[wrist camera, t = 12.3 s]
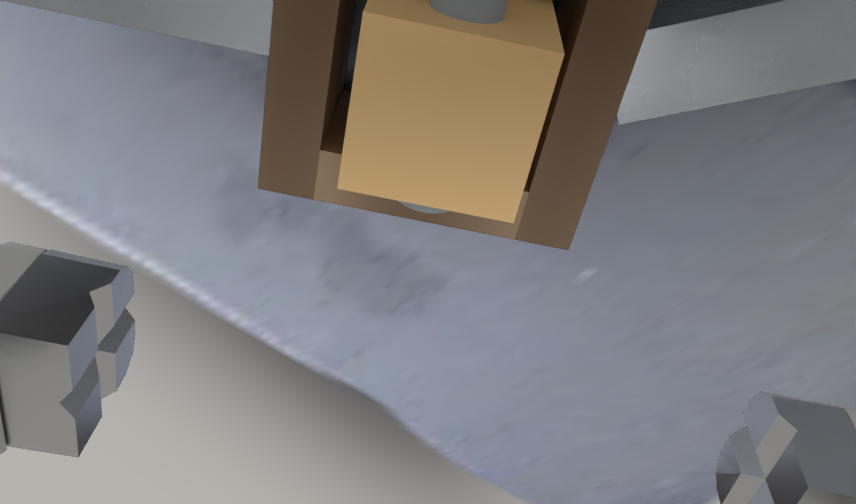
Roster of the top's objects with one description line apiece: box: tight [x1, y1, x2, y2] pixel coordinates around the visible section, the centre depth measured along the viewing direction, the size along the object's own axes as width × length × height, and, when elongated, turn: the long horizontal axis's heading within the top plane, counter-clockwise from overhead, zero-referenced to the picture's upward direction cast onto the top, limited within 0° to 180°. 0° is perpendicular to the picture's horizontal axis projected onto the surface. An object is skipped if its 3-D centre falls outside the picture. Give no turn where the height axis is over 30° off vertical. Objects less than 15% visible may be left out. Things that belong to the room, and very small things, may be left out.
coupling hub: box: [258, 0, 658, 250], centre depth 21 cm, size 8×8×4 cm
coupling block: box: [337, 0, 565, 223], centre depth 19 cm, size 4×5×7 cm
